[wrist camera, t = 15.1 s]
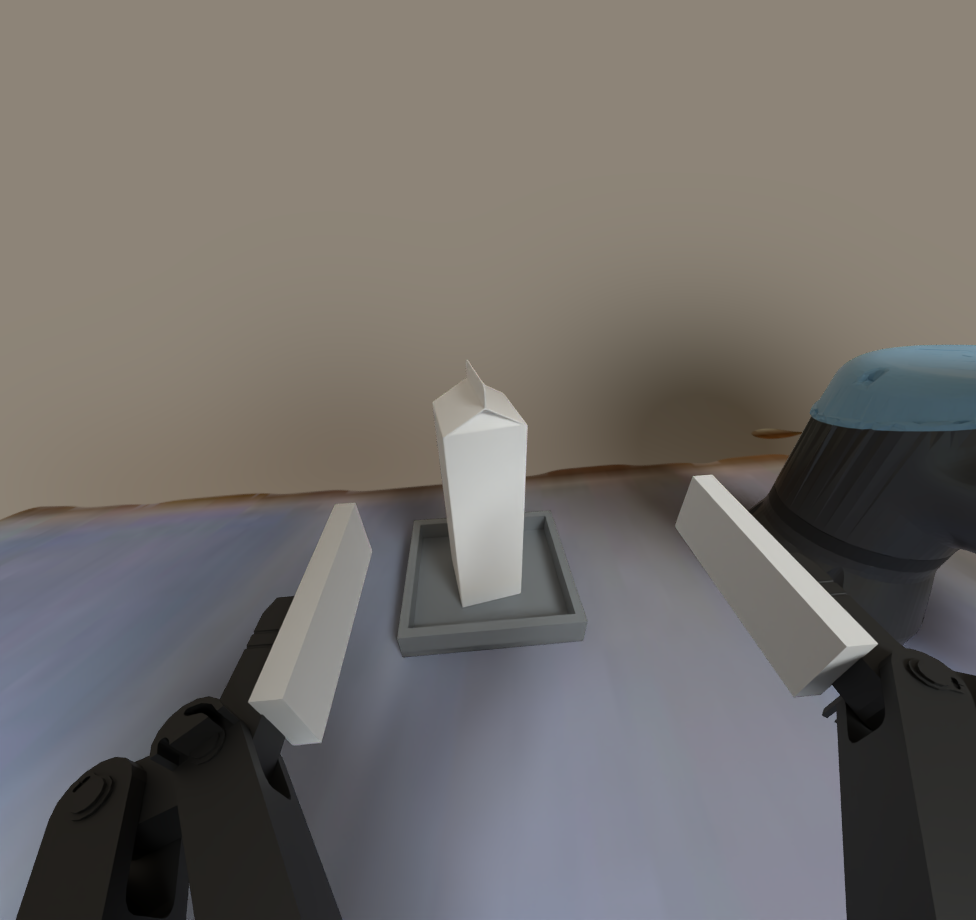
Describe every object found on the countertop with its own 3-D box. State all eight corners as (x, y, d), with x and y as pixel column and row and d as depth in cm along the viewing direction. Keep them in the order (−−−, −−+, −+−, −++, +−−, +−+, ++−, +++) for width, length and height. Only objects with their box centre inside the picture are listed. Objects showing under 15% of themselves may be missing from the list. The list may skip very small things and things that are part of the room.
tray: (548, 528, 43) (550, 510, 41) (583, 640, 31) (587, 621, 30) (417, 538, 42) (413, 520, 40) (402, 657, 30) (397, 638, 29)
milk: (504, 549, 39) (505, 353, 27) (521, 595, 34) (532, 380, 22) (450, 561, 38) (426, 361, 26) (460, 609, 33) (437, 391, 21)
